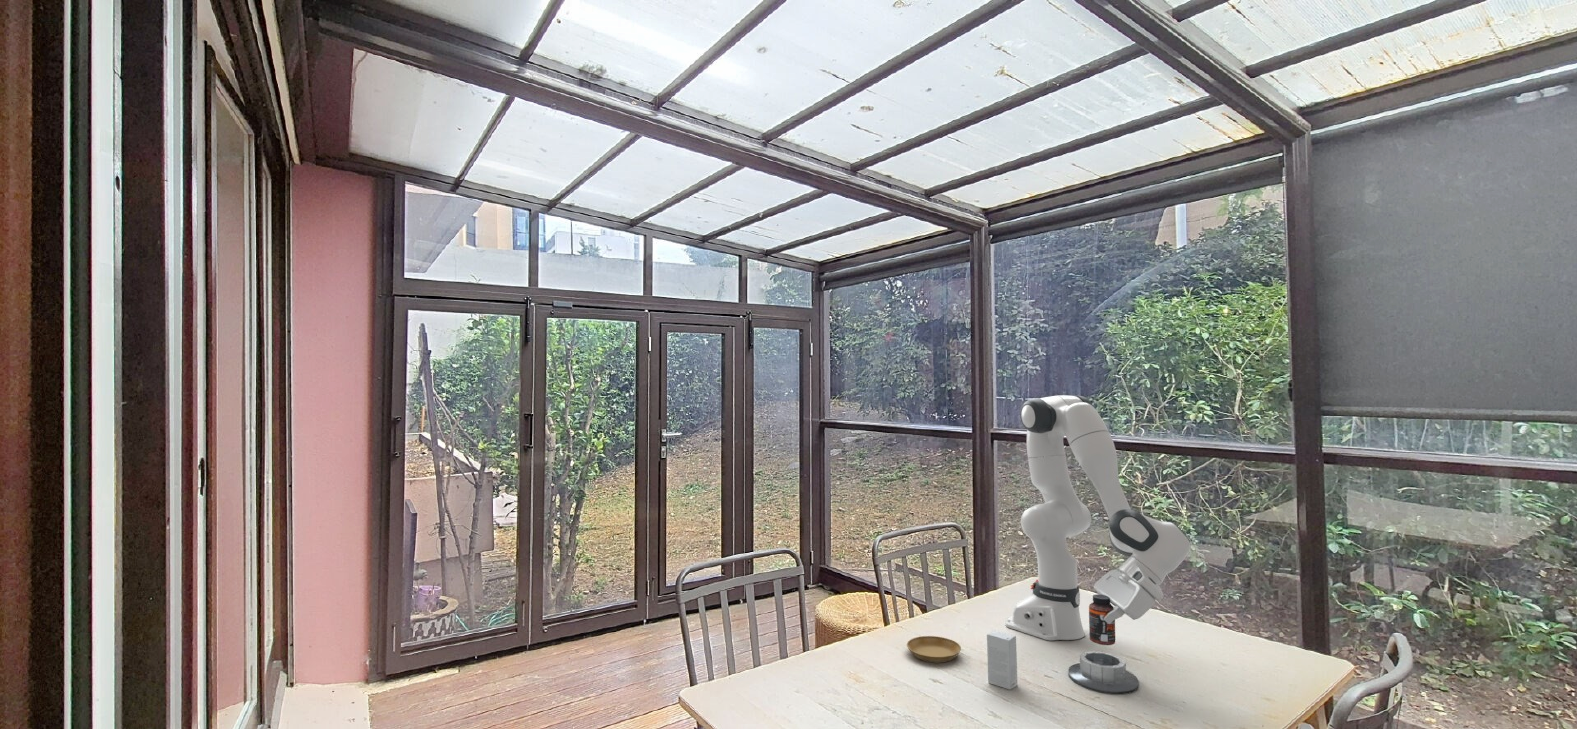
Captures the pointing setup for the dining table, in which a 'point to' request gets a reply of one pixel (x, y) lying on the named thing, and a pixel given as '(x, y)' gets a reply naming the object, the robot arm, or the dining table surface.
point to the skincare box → (1002, 659)
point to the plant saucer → (934, 648)
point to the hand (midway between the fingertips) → (1099, 616)
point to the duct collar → (1103, 673)
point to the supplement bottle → (1101, 621)
